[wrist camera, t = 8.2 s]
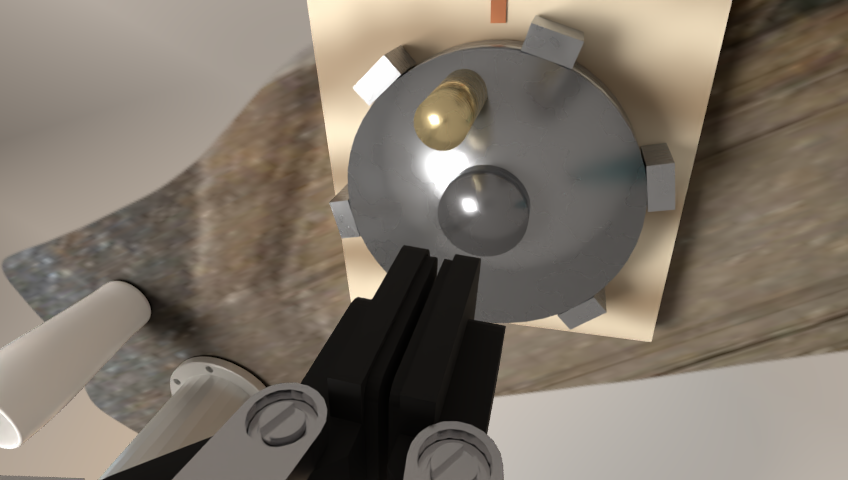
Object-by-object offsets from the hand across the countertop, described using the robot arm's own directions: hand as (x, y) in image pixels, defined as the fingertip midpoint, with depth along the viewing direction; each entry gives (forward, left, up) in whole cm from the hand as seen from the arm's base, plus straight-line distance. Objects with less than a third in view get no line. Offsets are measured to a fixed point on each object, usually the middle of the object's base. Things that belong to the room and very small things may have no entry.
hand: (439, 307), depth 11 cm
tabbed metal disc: (-6, +2, -20) cm, 21 cm away
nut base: (-6, +2, -23) cm, 24 cm away
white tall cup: (-22, +38, -23) cm, 49 cm away
